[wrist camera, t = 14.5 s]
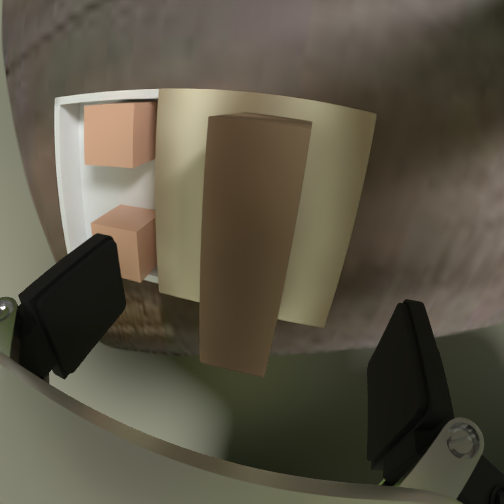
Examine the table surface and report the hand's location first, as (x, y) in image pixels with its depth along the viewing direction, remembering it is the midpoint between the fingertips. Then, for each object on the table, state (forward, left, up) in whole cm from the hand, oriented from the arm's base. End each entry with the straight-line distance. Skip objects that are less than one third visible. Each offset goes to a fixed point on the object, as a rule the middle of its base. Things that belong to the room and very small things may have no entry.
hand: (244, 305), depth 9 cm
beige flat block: (+2, +1, -13) cm, 13 cm away
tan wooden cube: (+9, +5, -10) cm, 14 cm away
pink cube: (+9, -4, -10) cm, 14 cm away
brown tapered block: (+1, +1, -9) cm, 9 cm away
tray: (+13, +1, -13) cm, 18 cm away
